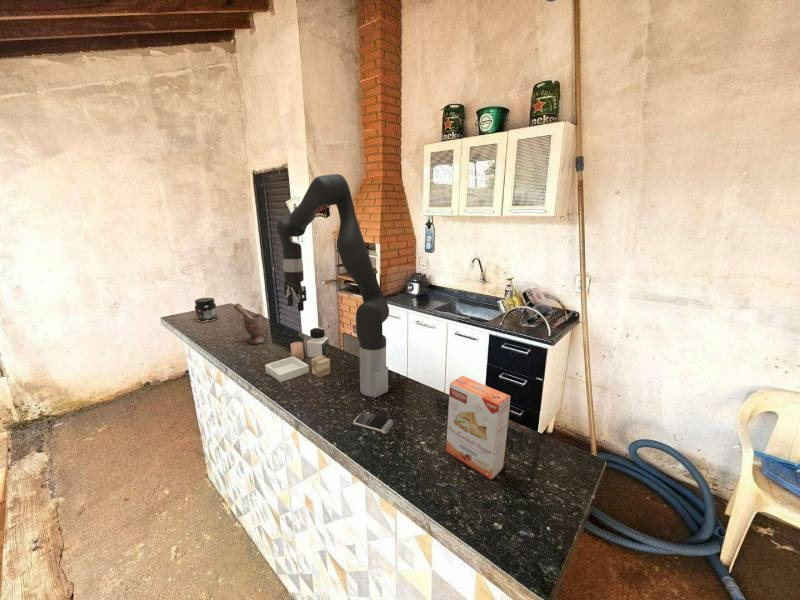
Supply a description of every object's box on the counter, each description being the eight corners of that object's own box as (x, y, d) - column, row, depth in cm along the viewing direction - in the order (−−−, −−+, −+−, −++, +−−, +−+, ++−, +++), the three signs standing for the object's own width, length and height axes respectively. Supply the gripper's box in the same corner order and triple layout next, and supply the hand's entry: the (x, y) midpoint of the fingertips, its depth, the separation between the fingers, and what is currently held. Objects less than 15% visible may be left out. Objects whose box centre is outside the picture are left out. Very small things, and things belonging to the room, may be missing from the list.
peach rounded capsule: (306, 359, 147) (305, 344, 145) (295, 362, 144) (294, 347, 142) (300, 355, 151) (298, 340, 149) (289, 359, 147) (288, 343, 145)
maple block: (330, 373, 135) (329, 359, 134) (319, 377, 132) (318, 363, 130) (323, 369, 138) (322, 355, 137) (312, 373, 135) (311, 359, 133)
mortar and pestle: (245, 349, 157) (241, 306, 152) (236, 344, 162) (231, 303, 157) (269, 341, 166) (265, 301, 161) (259, 337, 171) (255, 298, 166)
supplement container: (197, 318, 199) (194, 298, 196) (218, 316, 203) (215, 296, 200) (195, 323, 190) (192, 302, 187) (217, 321, 194) (214, 301, 191)
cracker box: (444, 452, 92) (448, 381, 86) (458, 442, 96) (462, 374, 91) (491, 482, 82) (498, 404, 77) (503, 469, 86) (512, 394, 81)
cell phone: (362, 415, 109) (362, 411, 108) (394, 424, 105) (394, 419, 104) (352, 426, 103) (352, 422, 103) (385, 435, 99) (385, 431, 99)
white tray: (309, 372, 136) (308, 365, 135) (280, 382, 127) (279, 375, 127) (293, 362, 144) (293, 356, 143) (265, 371, 135) (265, 364, 135)
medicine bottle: (322, 358, 148) (321, 332, 145) (307, 357, 149) (305, 331, 146) (329, 352, 155) (328, 326, 152) (314, 350, 156) (313, 325, 153)
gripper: (276, 268, 140) (279, 306, 144) (293, 273, 130) (295, 314, 135) (293, 266, 145) (295, 303, 149) (311, 270, 135) (312, 310, 140)
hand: (295, 308), depth 142 cm, fingers open, 8 cm apart
